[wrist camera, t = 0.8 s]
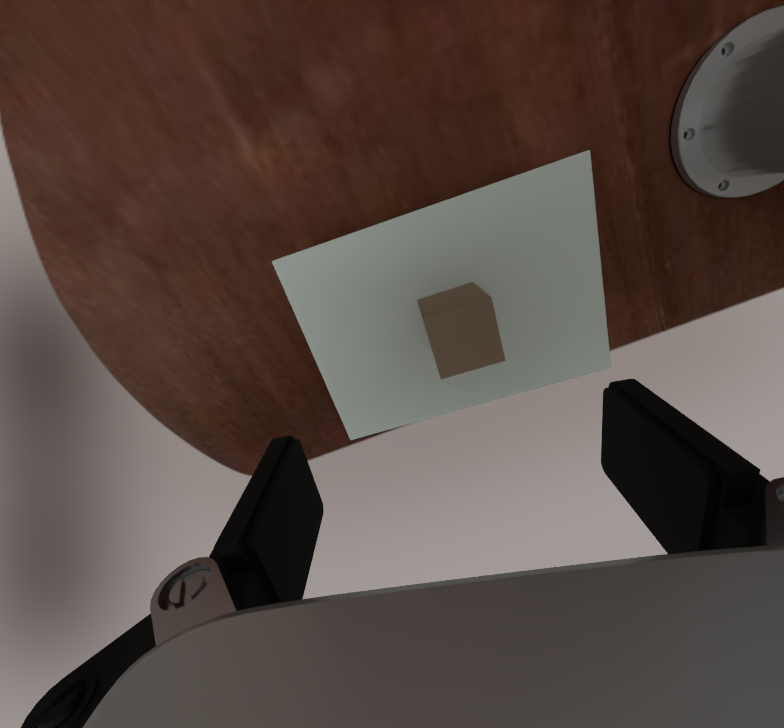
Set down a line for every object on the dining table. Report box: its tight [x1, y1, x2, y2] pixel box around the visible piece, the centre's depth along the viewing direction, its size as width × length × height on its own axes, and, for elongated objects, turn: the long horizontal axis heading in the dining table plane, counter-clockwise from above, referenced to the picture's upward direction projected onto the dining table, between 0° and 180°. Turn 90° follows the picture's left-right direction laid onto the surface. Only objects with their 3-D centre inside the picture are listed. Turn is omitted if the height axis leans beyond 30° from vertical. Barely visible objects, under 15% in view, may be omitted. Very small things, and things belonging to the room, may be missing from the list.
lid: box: [272, 150, 611, 440], centre depth 24 cm, size 21×15×6 cm
